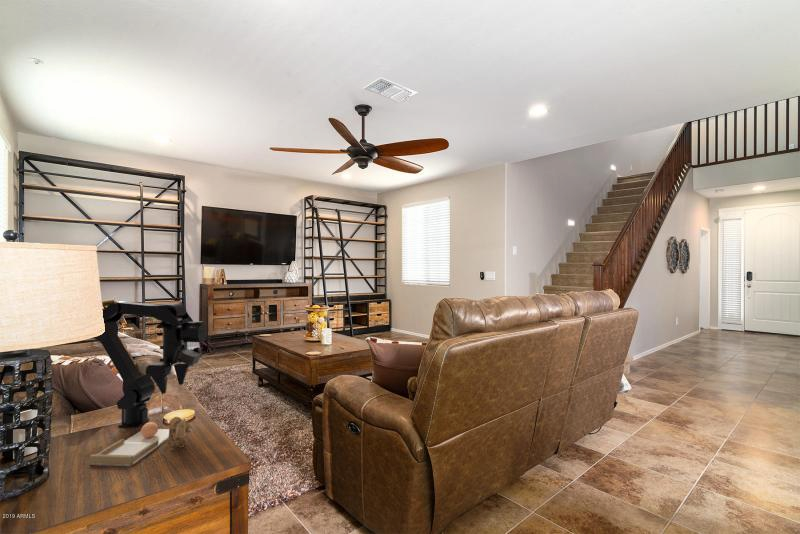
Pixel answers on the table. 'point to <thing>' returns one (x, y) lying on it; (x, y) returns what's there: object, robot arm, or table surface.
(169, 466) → the table surface
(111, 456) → the lane
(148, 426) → the ball
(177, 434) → the lion figurine
